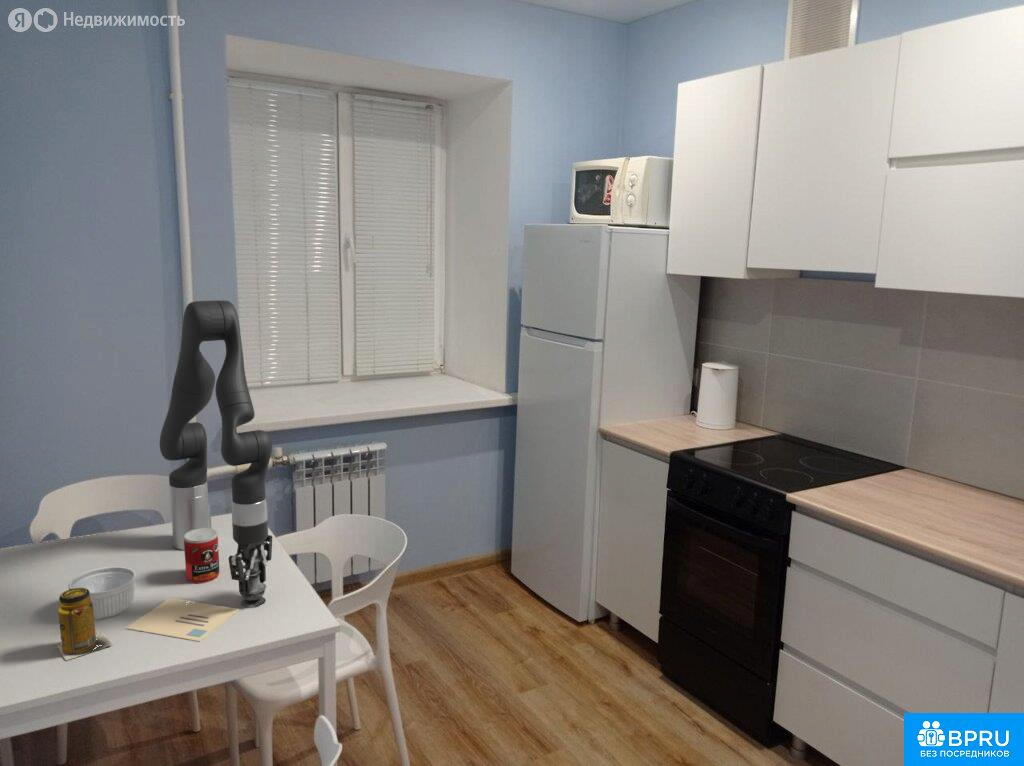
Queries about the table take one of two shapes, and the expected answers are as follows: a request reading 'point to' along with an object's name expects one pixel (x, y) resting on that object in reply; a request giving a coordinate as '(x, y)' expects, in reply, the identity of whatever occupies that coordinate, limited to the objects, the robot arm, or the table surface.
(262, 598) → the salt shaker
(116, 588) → the ramekin
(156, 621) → the letter
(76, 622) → the condiment
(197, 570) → the canned food
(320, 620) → the table surface
